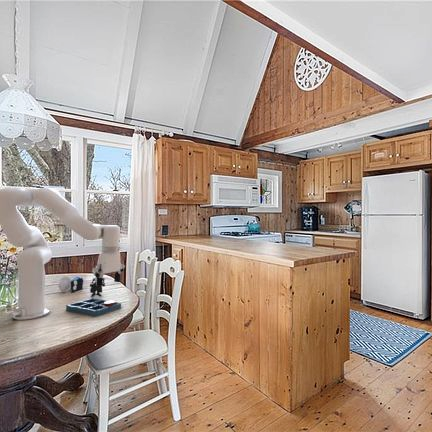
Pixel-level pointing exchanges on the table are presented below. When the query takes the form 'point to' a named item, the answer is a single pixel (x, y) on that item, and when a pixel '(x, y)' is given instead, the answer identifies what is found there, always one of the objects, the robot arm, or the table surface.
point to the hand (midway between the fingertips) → (108, 283)
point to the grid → (92, 307)
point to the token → (109, 303)
